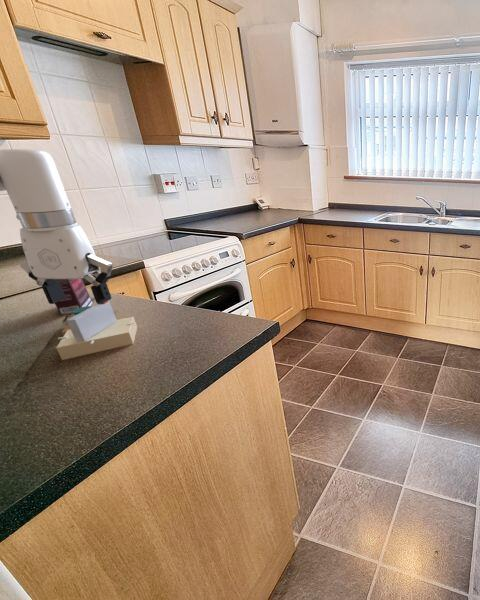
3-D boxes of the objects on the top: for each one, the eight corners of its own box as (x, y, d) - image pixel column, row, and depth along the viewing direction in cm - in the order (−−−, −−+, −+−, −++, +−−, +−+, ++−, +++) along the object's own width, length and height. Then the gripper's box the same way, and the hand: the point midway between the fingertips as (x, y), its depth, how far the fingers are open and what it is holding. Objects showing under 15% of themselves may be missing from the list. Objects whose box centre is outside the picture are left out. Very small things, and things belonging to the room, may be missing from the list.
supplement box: (71, 306, 94) (46, 251, 87) (93, 303, 96) (70, 249, 89) (60, 319, 86) (31, 260, 80) (84, 315, 88) (58, 257, 82)
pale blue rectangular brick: (84, 341, 70) (74, 318, 68) (76, 341, 70) (65, 319, 68) (117, 321, 78) (109, 300, 76) (109, 321, 78) (101, 300, 76)
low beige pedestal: (55, 366, 67) (48, 352, 66) (72, 337, 78) (66, 325, 76) (135, 347, 73) (130, 334, 72) (141, 323, 84) (137, 312, 82)
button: (73, 320, 79) (70, 313, 78) (77, 314, 82) (74, 308, 81) (93, 316, 80) (90, 310, 80) (96, 311, 83) (93, 304, 83)
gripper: (-20, 223, 61) (21, 308, 68) (77, 223, 61) (109, 309, 68) (22, 216, 68) (56, 294, 74) (109, 216, 68) (135, 294, 75)
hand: (81, 301), depth 71 cm, fingers open, 9 cm apart
